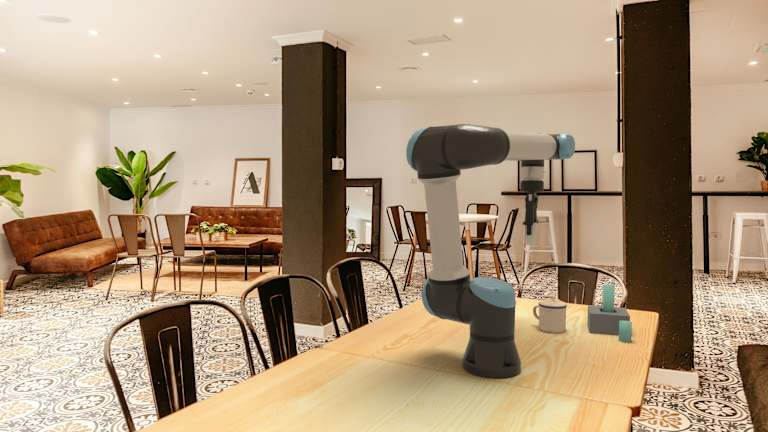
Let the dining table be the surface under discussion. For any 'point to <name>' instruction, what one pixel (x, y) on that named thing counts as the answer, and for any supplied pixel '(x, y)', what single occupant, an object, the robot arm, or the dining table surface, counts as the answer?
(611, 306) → the long pin
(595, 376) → the dining table surface
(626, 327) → the short pin
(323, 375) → the dining table surface
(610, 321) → the hole block
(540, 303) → the teacup with lid
